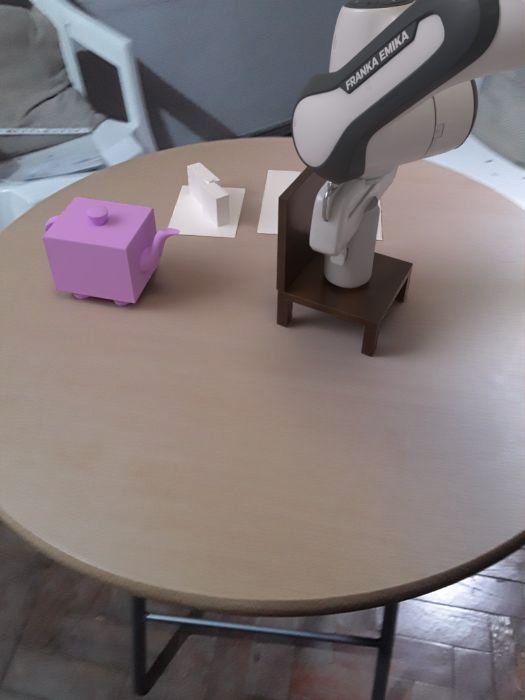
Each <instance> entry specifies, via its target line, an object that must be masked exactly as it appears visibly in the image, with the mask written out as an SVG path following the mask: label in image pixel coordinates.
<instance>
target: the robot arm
mask: <svg viewBox="0 0 525 700" xmlns="http://www.w3.org/2000/svg"><path fill="white" fill-rule="evenodd" d="M330 50H331V51H330V57H329V67H328V72H325V73H318V74H314V75H313V76H311V77H310V79H309V80H308V81H307V83H306V84H305V85H304V87H303V88H302V90H301V92H300V94H299V96H298V97H297V100H296V102H295V105H294V107H293V110H292V114H291V121H290V125H291V126H290V131H291V139H292V143H293V147H294V149H295V152H296V154H297V157H299V159H300V161H301V162H302V164H304V166H305V167H308V168H309V169H310V170H312V171H313V172H314V173H316V174H317V175H318V176H320V177H322V178H323V179H325V180H327V182H326V183H325V184H324V185H323V187H322V188H321V189H320V191H319V192H318V194H317V197H316V200H315V204H314V209H313V216H312V223H311V231H310V246H311V248H312V249H313V250H314V251H317V252H320V253H323V254H326V255H330V256H331V262H332V263H334V264H338V265H343V264H344V263H345V261H346V260H347V258H348V253H349V249H348V248H346V245H347V243H348V242H349V241H350V239H351V238H352V236H353V235H354V234H355V232H356V231H357V230H358V228H359V227H360V224H361V221H362V218H363V212H364V211H365V209H367V207H368V206H369V204H370V203H371V202H372V200H373V199H374V198H375V196H376V197H377V199H378V201H379V200H380V201H381V198H383V196H384V194H385V193H386V192H387V190H388V189H389V188H390V186H391V185H392V184H393V182H394V180H395V177H396V175H397V172H398V169H399V166H403V165H406V164H410V163H414V162H417V161H421V160H423V159H428V158H431V157H432V158H433V157H435V156H440V155H442V154H446V153H448V152H450V151H454V150H456V149H459V148H460V147H461V146H462V145H463V144H464V143H466V141H467V139H468V138H469V137H470V135H471V133H472V131H473V129H474V126H475V124H476V119H477V116H478V109H479V92H478V91H479V90H478V86H477V82H476V79H480V78H483V77H488V76H491V75H495V74H500V73H504V72H509V71H513V70H518V69H523V68H525V0H349V1H347V2H346V3H344V4H343V5H342V6H341V7H340V11H339V13H338V15H337V17H336V22H335V27H334V31H333V36H332V42H331V49H330Z"/></svg>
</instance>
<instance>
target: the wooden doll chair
mask: <svg viewBox="0 0 525 700" xmlns="http://www.w3.org/2000/svg"><path fill="white" fill-rule="evenodd" d="M305 167H306V168H304V169H303V171H301V172H302V173H301V174H300V175H299V176H298V177H297V178H296V179H295V180H294V181H293V182H292V183H291V185H290V186H289V187H288V188H287V189H286V190H285V191H284V192H283V193H282V194H281V195H280V196H279V197H278V234H277V239H276V240H277V241H276V242H277V245H276V283H275V284H276V287H275V288H276V290H277V299H276V300H277V301H276V307H277V308H276V325H279V326H281V327H284V328H289V326H290V325H291V323H292V321H293V308H294V307H293V306H294V304H297V305H300V306H303V307H305V308H309V309H312V310H315V311H318V312H321V313H324V314H327V315H330V316H333V317H336V318H339V319H342V320H345V321H348V322H351V323H354V324H357V325H360V326H362V327H364V329H363V336H362V344H361V348H360V349H361V350H360V354H362V355H364V356H368V357H370V358H373V357H374V355H375V353H376V351H377V349H378V342H379V336H380V331H381V325H382V324H381V323H382V322H383V320H384V318H385V316H387V313H388V311H389V310H390V308H391V306H392V305H393V303H394V301H397V302H399V303H405V300H406V299H407V297H408V292H409V287H410V282H411V278H412V274H413V273H412V272H413V267H414V263H413V262H410V261H406V260H403V259H401V258H400V259H399V258H396V257H392V256H390V255H386V254H383V253H379V252H376V251H375V252H374V259H373V266H372V274H371V278H370V279H369V281H368V282H366V283H365V284H363V285H361V286H359V287H356V288H342V287H339V286H337V285H335V284H333V283H331V282H330V281H329V280H327V278H326V277H325V275H324V259H325V254H323V253H320V252H317V251H314V250H313V249H312V248H311V246H310V231H311V223H312V216H313V209H314V204H315V200H316V197H317V194H318V192H319V191H320V189H321V188H322V187H323V185H324V184H325V183H326V182H327V180H325V179H323V178H322V177H320V176H318V175H317V174H316V173H314V172H313V171H312V170H310V169H309V168H308V167H307V166H305Z"/></svg>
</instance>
